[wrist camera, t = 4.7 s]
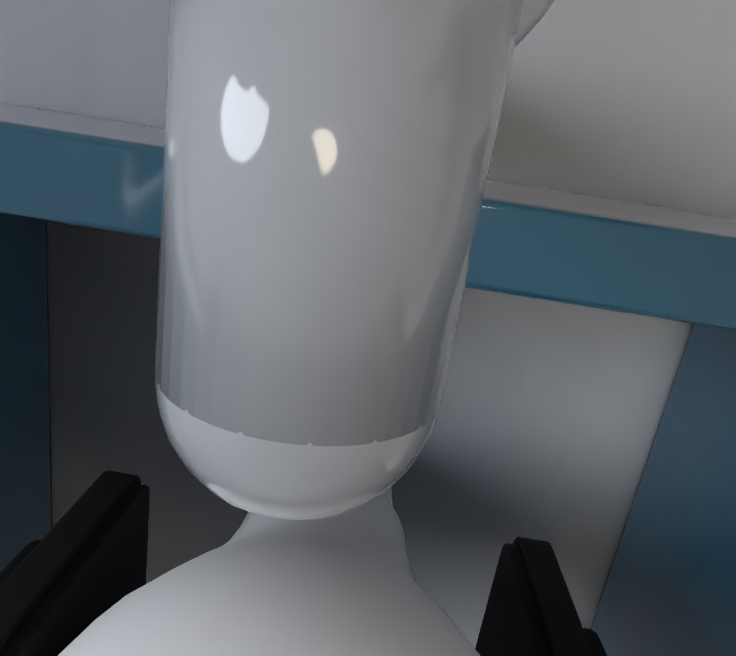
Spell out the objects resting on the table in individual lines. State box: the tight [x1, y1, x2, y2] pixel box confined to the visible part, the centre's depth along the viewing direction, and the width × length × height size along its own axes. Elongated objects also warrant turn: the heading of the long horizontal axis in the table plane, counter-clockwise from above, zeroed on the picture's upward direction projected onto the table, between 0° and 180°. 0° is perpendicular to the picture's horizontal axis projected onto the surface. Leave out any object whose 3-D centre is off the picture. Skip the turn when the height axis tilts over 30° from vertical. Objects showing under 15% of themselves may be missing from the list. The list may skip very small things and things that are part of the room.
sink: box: [0, 0, 736, 656], centre depth 9 cm, size 16×16×11 cm
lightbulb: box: [58, 487, 480, 656], centre depth 9 cm, size 6×6×11 cm
